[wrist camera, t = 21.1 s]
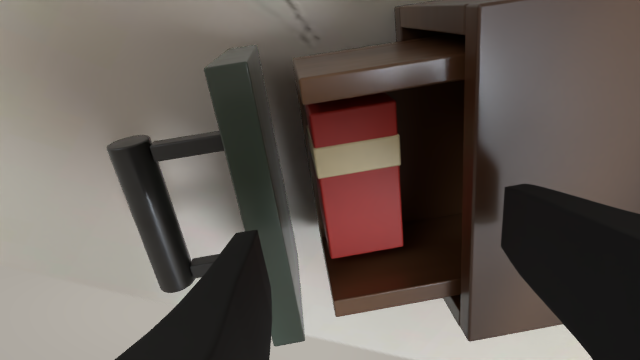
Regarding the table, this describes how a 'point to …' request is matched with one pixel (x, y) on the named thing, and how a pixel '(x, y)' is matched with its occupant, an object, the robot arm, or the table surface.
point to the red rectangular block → (357, 172)
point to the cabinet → (535, 128)
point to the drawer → (268, 186)
